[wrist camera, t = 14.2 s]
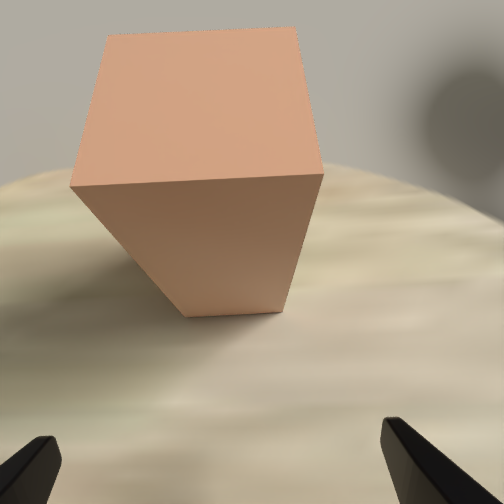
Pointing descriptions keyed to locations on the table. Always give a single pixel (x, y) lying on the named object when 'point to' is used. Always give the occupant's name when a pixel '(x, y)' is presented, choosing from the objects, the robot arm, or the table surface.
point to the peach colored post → (204, 163)
